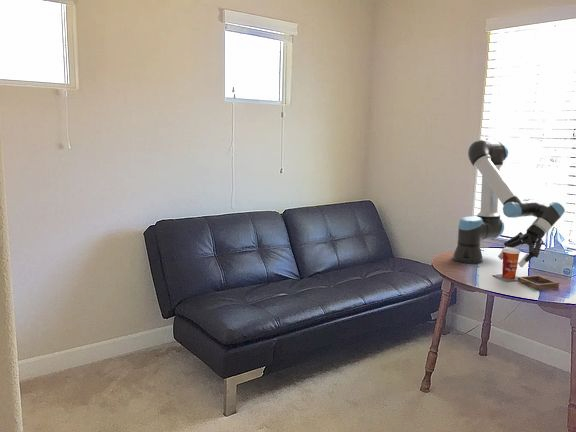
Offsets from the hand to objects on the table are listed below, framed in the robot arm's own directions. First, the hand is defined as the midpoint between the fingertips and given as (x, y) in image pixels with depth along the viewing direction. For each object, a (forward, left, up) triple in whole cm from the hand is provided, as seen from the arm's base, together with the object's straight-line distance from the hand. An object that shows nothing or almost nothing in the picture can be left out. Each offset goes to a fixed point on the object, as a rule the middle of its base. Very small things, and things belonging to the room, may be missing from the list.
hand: (509, 261), depth 233 cm
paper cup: (0, +1, -8) cm, 8 cm away
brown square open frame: (+12, +7, -8) cm, 16 cm away
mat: (0, +1, -8) cm, 8 cm away
